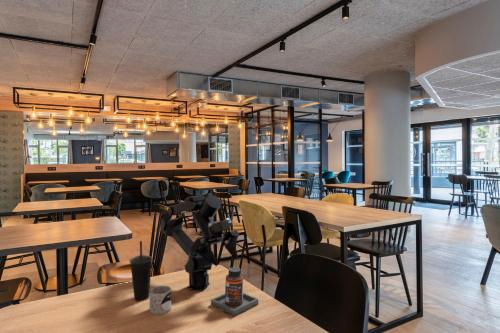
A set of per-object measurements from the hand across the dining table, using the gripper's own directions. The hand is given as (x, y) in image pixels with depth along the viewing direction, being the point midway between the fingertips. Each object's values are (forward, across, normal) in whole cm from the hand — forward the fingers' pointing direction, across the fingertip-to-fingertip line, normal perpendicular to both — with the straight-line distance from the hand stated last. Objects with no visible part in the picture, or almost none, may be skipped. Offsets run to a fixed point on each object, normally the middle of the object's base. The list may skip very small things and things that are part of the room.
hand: (227, 261), depth 108 cm
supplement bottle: (+12, 0, +7) cm, 14 cm away
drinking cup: (-7, -18, +27) cm, 33 cm away
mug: (+1, -17, +19) cm, 26 cm away
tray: (+12, 0, +7) cm, 14 cm away
